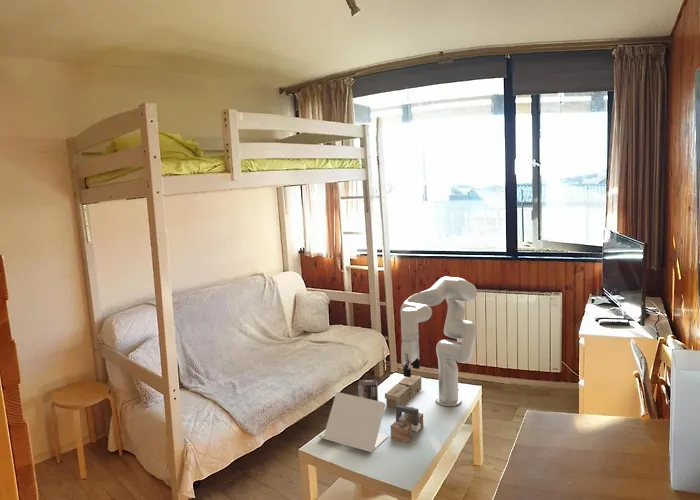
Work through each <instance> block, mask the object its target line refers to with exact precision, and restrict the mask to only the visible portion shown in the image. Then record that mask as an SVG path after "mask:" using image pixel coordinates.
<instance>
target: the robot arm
mask: <svg viewBox="0 0 700 500" xmlns="http://www.w3.org/2000/svg"><path fill="white" fill-rule="evenodd" d="M477 295H478V290H477V288H476V286H475V285H474V284H473V283H471V282H470V281H468V280H466V279H464V278H461V277H454V276H452V277H451V276H443V277H440V278H438V279H437V280H436V281H435V282H434V283H433V284H432V285H431V286H430V288H428V289H426V290H423V291H420V292H418V293H414V294H412V295H411V296H409V297H408V298H406V300H405V301H403V303H402V304H401V307H400V312H399V313H400V331H401V348H400V351H401V352H400V353H401V355H400V357H401V358H400V360H401V365H402V368H403V369H402V370H403V371H402V372H403V377H411V376H412V373H411V371H412V370H411V369H412V368H413V369H416V370H420V355H421V353H420V350H421V348H420V344H419V343H420V342H419V339H420V333H419V332H420V331H419V323H424V322H427V321H429V319H431V317H432V315H433V310H432V307H434V306H439V305H441V304H442V302H443V301H444V300H446V304H447V312H446V316H445V317H446V318H445V322H444V327H443V334H444V335H445V336H446V337H447V338H451V339H441V340H439V341H437V343H436V347H435V352H436V356H437V363H438V395H437V396H436V397H435V401H436V403H437V404H438V405H440V406H442V407H456V405H457V406H460V404H461V403H462V398H461V396H459V392H460V389H459V367H458V364H457V363H463V364H467V363H469V362H470V361H471V358H472V355H473V350H474V345H475V341H476V336H477V327H476V324H475V323H474V322H472V321H470V320H464V319H465V313H466V309H465V306H464V304H463V303H462V302H467V303H471V302H474V301H475V300H476V299H477ZM452 339H457V340H461V341H456V340H452ZM411 364H412V368H411Z"/></svg>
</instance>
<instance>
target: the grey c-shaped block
mask: <svg viewBox="0 0 700 500" xmlns="http://www.w3.org/2000/svg"><path fill="white" fill-rule="evenodd" d="M411 407H412V406H406V405H405V406H401V405H397V406H396V409H395V421H394V422H399V418H400V417H401V416H402V415H403V414H404V413H409V414H413V424H412V432H418V431H420V430H421V429H420V423H419V413H420V412H419V408H415V407H414V408H411ZM399 423H400V422H399ZM419 429H420V430H419Z"/></svg>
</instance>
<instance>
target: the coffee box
mask: <svg viewBox="0 0 700 500" xmlns="http://www.w3.org/2000/svg"><path fill="white" fill-rule="evenodd" d="M357 389H358V392H357V393H358V397H362V398H366V399H371V400H375V401H379V392H378V391H379V389H378V379H359V380H358V384H357Z"/></svg>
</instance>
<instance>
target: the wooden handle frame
mask: <svg viewBox="0 0 700 500" xmlns="http://www.w3.org/2000/svg"><path fill="white" fill-rule="evenodd" d="M410 407H411V408H415V407H414V406H410ZM399 422H400V423H399ZM399 422H395V421H394V422H393V423H392V424H391V425H390V439H391V440H394V441H398V442H402V443H406V444H408V443H410V441H411V440H412V439H413V430H412V424H413V414H409V413H404V412H403V413H402V416H401V417H400V418H399ZM419 423H420V429H419V430H418V431H421V429H422V428H424V413H421V412H419Z"/></svg>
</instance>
